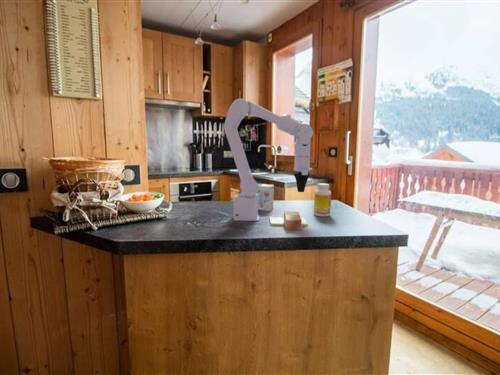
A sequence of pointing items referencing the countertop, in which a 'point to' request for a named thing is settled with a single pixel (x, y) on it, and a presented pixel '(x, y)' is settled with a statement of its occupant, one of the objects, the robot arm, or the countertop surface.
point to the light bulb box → (265, 197)
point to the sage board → (280, 221)
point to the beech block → (292, 220)
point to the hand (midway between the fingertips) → (300, 191)
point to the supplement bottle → (322, 200)
